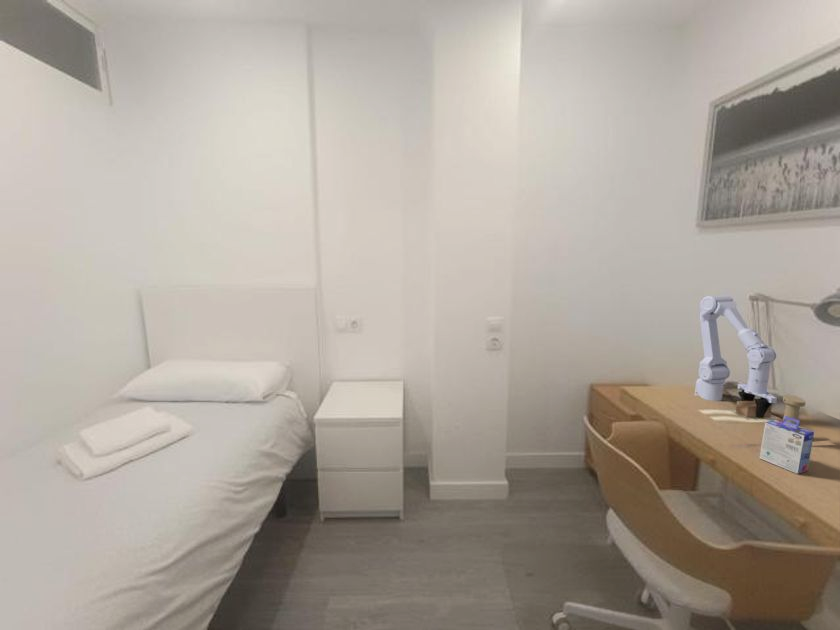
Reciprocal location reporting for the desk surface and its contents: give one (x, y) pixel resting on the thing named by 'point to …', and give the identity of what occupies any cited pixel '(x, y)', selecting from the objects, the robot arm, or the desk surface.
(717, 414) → the sanding board
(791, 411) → the handle
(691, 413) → the desk surface
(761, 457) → the ink cartridge box
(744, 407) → the sanding block
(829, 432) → the desk surface
